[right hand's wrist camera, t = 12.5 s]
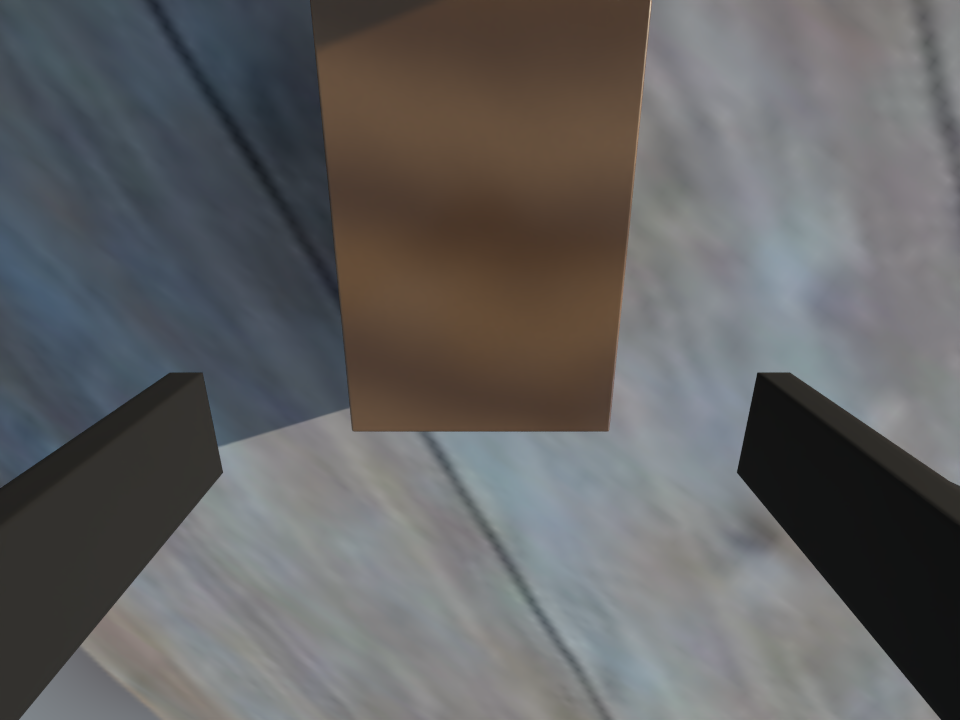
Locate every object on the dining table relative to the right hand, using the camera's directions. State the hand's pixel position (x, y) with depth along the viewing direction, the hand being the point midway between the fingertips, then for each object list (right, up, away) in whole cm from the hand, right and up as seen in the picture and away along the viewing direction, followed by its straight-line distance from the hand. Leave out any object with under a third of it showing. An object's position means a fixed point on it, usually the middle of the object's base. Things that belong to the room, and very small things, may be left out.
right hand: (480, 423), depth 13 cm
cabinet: (0, +10, +15) cm, 19 cm away
